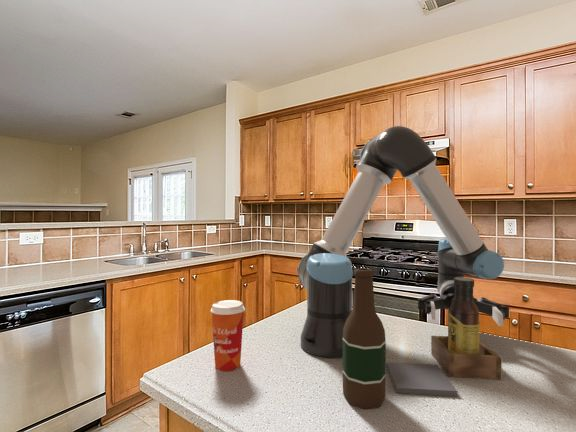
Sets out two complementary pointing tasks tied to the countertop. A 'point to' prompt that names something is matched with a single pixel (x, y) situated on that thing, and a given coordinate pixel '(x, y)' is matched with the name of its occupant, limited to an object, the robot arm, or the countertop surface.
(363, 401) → the beer bottle
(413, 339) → the countertop surface
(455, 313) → the sauce bottle
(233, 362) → the paper cup
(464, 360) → the collar
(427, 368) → the rubber mat
